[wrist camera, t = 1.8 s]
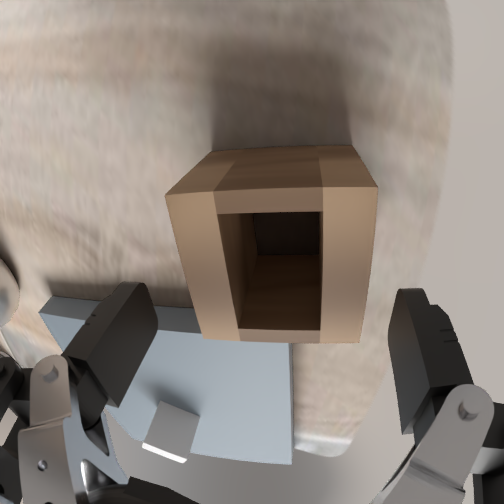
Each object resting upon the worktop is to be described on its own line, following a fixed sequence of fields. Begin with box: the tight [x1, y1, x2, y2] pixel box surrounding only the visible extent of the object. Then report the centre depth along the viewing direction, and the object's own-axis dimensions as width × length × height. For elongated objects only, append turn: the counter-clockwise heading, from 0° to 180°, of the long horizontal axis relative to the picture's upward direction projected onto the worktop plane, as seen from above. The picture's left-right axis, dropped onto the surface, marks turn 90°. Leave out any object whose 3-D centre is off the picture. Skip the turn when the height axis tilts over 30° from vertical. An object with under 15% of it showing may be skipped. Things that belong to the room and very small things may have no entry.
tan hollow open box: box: [165, 145, 378, 343], centre depth 12 cm, size 6×6×5 cm
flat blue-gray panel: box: [38, 296, 294, 464], centre depth 22 cm, size 20×18×6 cm
